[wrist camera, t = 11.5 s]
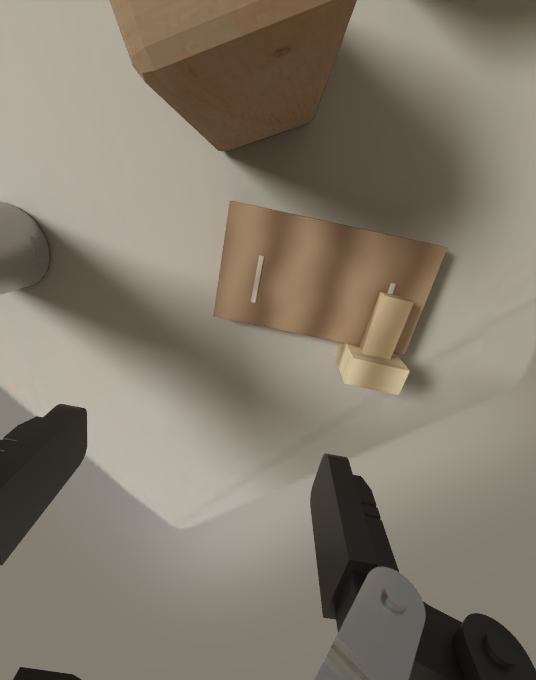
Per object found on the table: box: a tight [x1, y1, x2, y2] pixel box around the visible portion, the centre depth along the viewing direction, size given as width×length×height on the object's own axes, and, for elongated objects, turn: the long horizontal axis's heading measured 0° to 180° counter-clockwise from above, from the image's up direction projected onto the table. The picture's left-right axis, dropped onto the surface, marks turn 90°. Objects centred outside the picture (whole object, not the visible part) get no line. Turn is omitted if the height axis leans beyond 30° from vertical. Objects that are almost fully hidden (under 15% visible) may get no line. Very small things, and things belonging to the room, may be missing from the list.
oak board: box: [214, 201, 447, 355], centre depth 35 cm, size 22×12×3 cm, turn 79°
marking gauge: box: [335, 292, 414, 395], centre depth 35 cm, size 6×10×6 cm, turn 167°
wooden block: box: [110, 0, 357, 151], centre depth 20 cm, size 10×10×20 cm
